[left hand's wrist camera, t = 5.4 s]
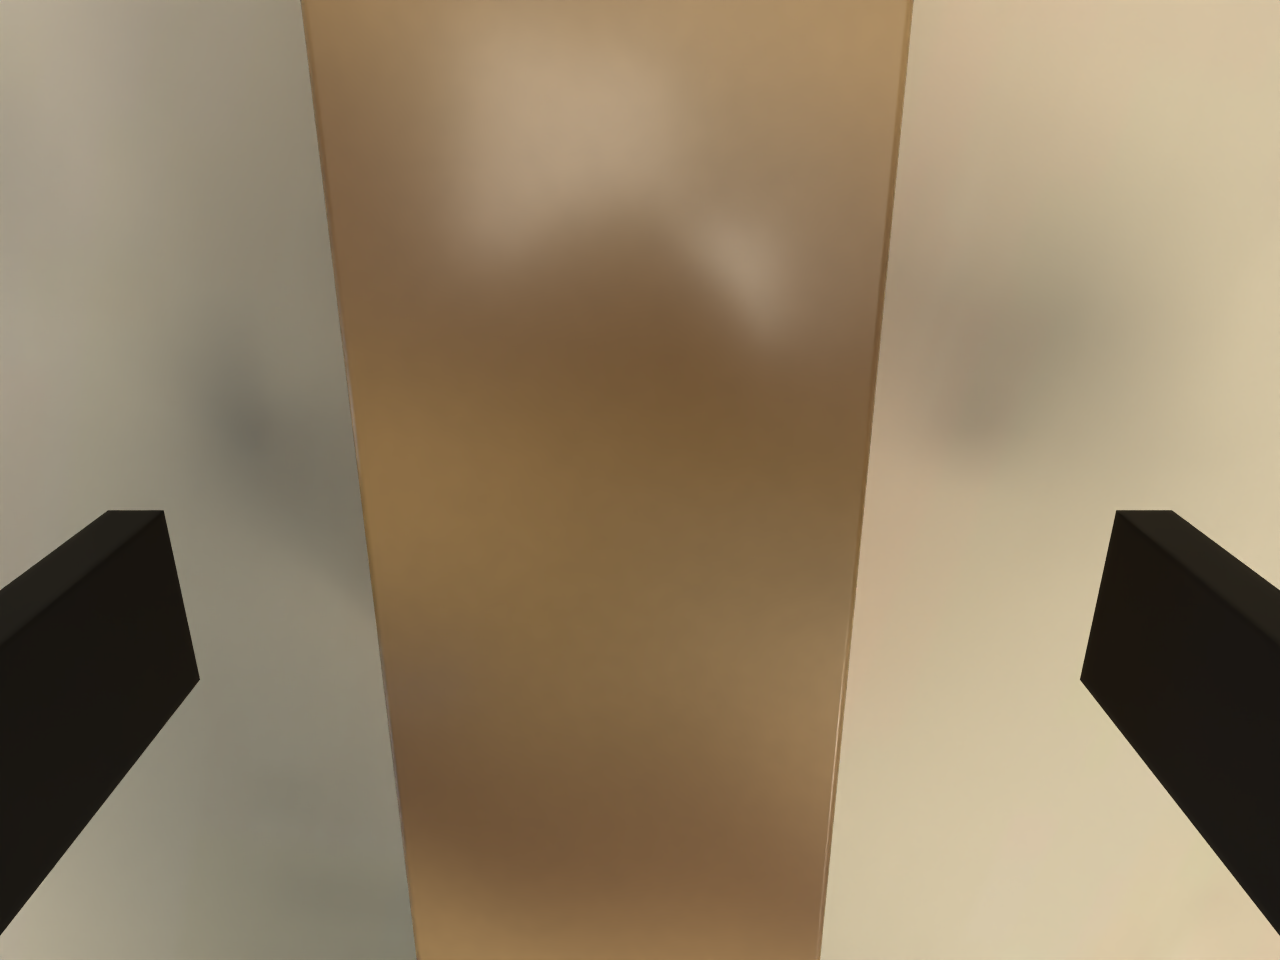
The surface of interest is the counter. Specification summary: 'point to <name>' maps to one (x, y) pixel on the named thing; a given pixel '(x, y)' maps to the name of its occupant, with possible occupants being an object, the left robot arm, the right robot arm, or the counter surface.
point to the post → (612, 446)
